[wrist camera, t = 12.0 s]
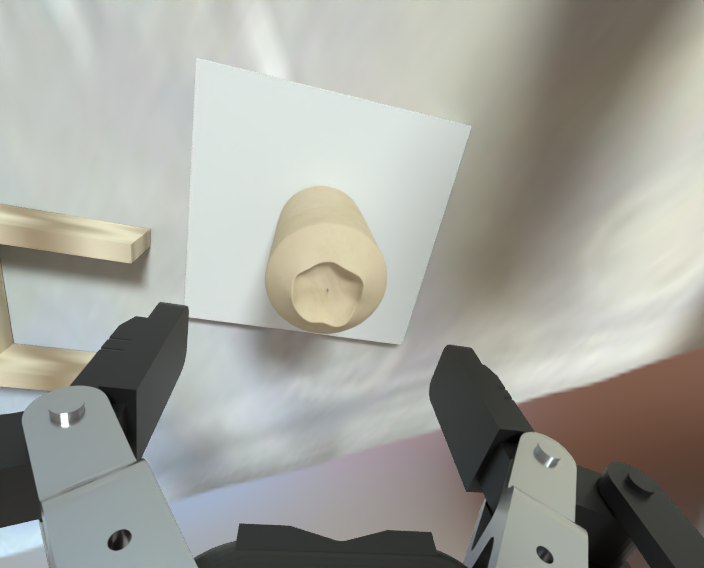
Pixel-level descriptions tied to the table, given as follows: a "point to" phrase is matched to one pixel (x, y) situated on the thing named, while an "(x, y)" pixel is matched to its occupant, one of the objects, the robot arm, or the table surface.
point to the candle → (324, 263)
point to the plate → (303, 172)
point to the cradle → (69, 238)
